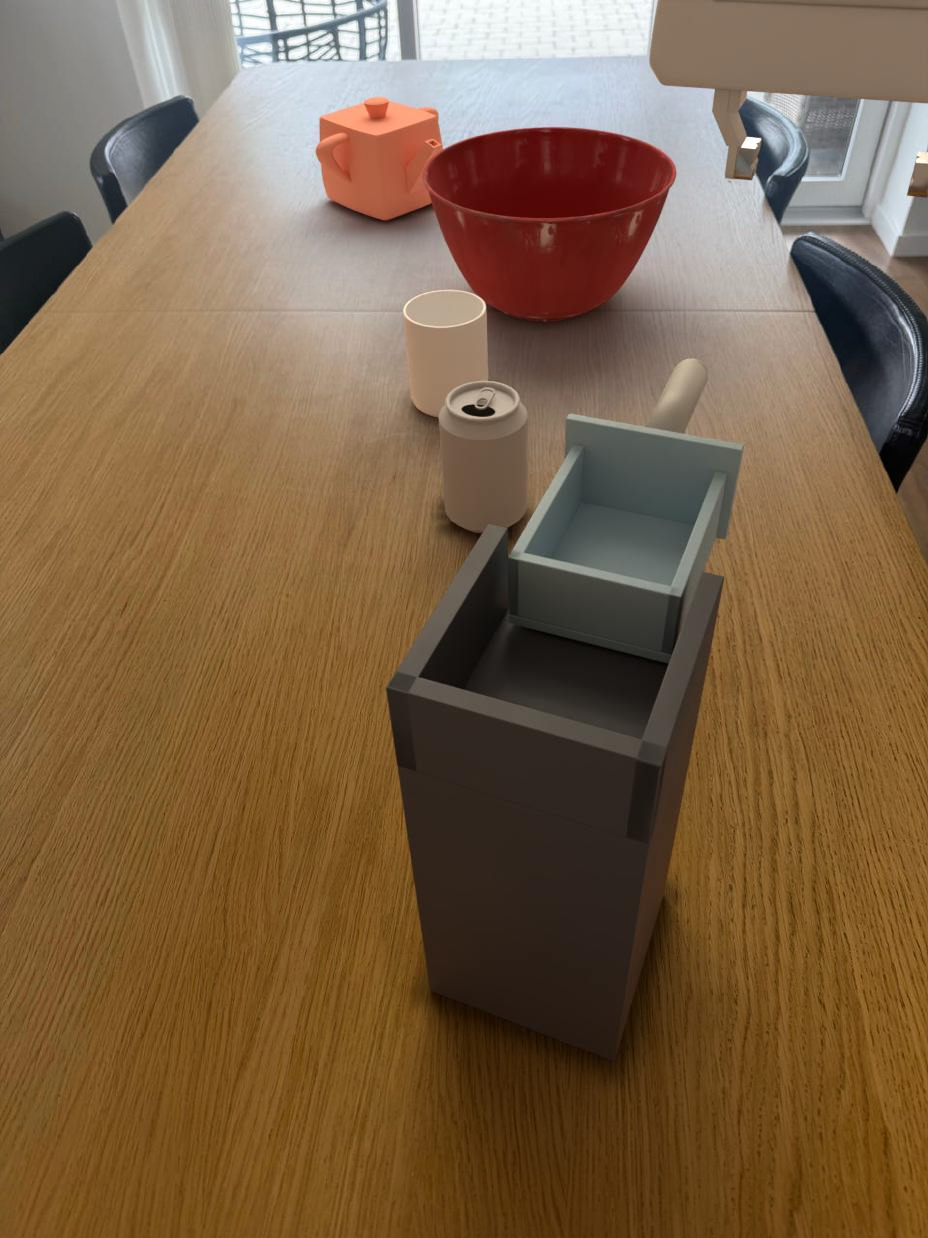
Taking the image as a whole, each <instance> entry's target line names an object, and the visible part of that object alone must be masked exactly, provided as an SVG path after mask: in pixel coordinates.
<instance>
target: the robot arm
mask: <svg viewBox="0 0 928 1238" xmlns="http://www.w3.org/2000/svg"><path fill="white" fill-rule="evenodd" d="M654 14H655V15H654V18H653V19H654V20H653V26H652V32H651V38H650V47H649V55H648V63H649V67H650V68H651V70H652V72H653V74H654V76H655V77H656V79H657V81H658V82H659V84H661V85H662V86H666V87H679V88H680V87H681V88H695V89H709V90H714V93H713V99H712V100H713V102H712V109H711V113H712V115H713V117H714V120H715V122H716V124H717V127H718V129H719V131H720V134H721V136H722V139H723V141H724V144H725V146H726V147H728V149H727V157H726V162H725V170H724V179H728V180H742V181H753V179H754V177H755V175H756V173H757V169H758V164H759V158H758V156H759V153H760V151H761V145H762V141H763V139H762V138H761V137H753V136H748V134H747V131H746V129H745V126H744V123H743V120H742V118H741V114H740V112H739V111H740V109H741V108H742V106H743V105H744V103H745V101H747V96H748V92H753V93H754V92H755V93H767V94H768V93H769V94H783V95H795V96H796V95H797V96H811V97H827V98H839V99H853V100H854V99H856V100H869V101H870V100H871V101H886V102H898V103H899V102H901V103H913V104H915V103H916V104H928V0H657V4H656V8H655V13H654ZM906 196H907V197H916V198H926V199H928V151H919V150H918V151H917V155H916V158H915V161H914V165H913V170H912V173H911V177H910V181H909V185H908V189H907V193H906Z"/></svg>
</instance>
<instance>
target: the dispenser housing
mask: <svg viewBox="0 0 928 1238" xmlns="http://www.w3.org/2000/svg"><path fill="white" fill-rule="evenodd" d="M508 528H509V527H508ZM508 528H504V527H500V526H495V525H491V524H488V525H487V527H486V528H485V530H484V532H483V533H481V535H480V537H479V538H478V540H477V541H476V543H475V544H474V546H473V547H472V549H471V551H470V552H469V554H468V555H467V557H466V558H465V560H464V561H463V563H462V564H461V567H460V568H459V570H458V571H457V573H456V574H455V576H454V578H453V579H452V581H451V582H450V584H449V586H448V587H447V589H446V591H445V592H444V593H443V596H442V597H441V599H440V600H439V601H438V603H437V605H436V606H435V608H434V610H433V611H432V613H431V614H430V616H429V618H428V619H427V621H426V622H425V624H424V625H423V627H422V628H421V630H420V632H419V634H418V635H417V637H416V638H415V640H414V642H413V643H412V645H411V647H410V648H409V650H408V651H407V653H406V654H405V656H404V657H403V659H402V660H401V662H400V664H399V665H398V667H397V669H396V670H395V672H394V673H393V675H392V677H391V678H390V680H389V681H388V683H387V685H386V686H385V692H386V699H387V707H388V713H389V720H390V726H391V734H392V740H393V746H394V751H395V752H394V753H395V761H396V766H397V774H398V778H399V779H398V780H399V787H400V794H401V800H402V808H403V814H404V821H405V828H406V835H407V842H408V849H409V856H410V863H411V868H412V876H413V883H414V889H415V896H416V902H417V911H418V917H419V924H420V931H421V937H422V944H423V951H424V959H425V965H426V966H425V967H426V972H427V973H426V974H427V980H428V985H429V991H431V992H433V993H436V994H438V995H440V996H443V997H446V998H448V999H451V1000H453V1001H456V1002H459V1003H461V1004H464V1005H467V1006H469V1007H471V1008H474V1009H476V1010H480V1011H481V1012H485V1013H487V1014H490V1015H492V1016H495V1017H498V1018H499V1019H503V1020H505V1021H508V1022H511V1023H512V1024H516V1025H518V1026H521V1027H522V1028H526V1029H528V1030H531V1031H534V1032H537V1033H539V1034H541V1035H544V1036H546V1037H549V1038H551V1039H554V1040H557V1041H559V1042H562V1043H564V1044H567V1045H570V1046H573V1047H575V1048H577V1049H580V1050H582V1051H585V1052H588V1053H591V1054H594V1055H595V1056H598V1057H601V1058H603V1059H606V1060H608V1061H611V1062H615V1061H616V1058H617V1054H618V1051H619V1048H620V1045H621V1041H622V1038H623V1034H624V1030H625V1027H626V1024H627V1021H628V1017H629V1014H630V1010H631V1006H632V1004H633V1000H634V997H635V994H636V990H637V987H638V983H639V980H640V977H641V974H642V971H643V967H644V962H645V959H646V957H647V953H648V949H649V946H650V944H651V940H652V936H653V934H654V933H653V932H654V929H655V925H656V923H657V919H658V916H659V912H660V909H661V906H662V903H663V899H664V896H665V890H666V887H667V886H666V885H667V881H668V875H669V870H670V865H671V860H672V855H673V850H674V846H675V845H674V844H675V838H676V833H677V828H678V822H679V818H680V813H681V808H682V802H683V797H684V791H685V787H686V781H687V776H688V771H689V765H690V760H691V754H692V749H693V744H694V739H695V733H696V729H697V723H698V718H699V713H700V707H701V704H702V703H701V702H702V697H703V692H704V688H705V687H704V686H705V681H706V677H707V671H708V667H709V666H708V665H709V660H710V655H711V650H712V645H713V640H714V635H715V629H716V624H717V618H718V613H719V608H720V604H721V598H722V592H723V587H724V581H725V576H724V575H719V574H716V573H710V572H708V571H707V572H706V571H704V572H702V573H701V575H700V578H699V581H698V583H697V586H696V589H695V592H694V595H693V597H692V600H691V603H690V606H689V608H688V611H687V614H686V617H685V620H684V622H683V625H682V628H681V631H680V634H679V636H678V639H677V642H676V645H675V648H674V650H673V653H672V656H671V659H670V662H669V664H668V663H664V662H660V661H656V660H652V659H648V658H645V657H641V656H637V655H633V654H629V653H625V652H621V651H617V650H613V649H609V648H605V647H601V646H597V645H593V644H589V643H585V642H581V641H577V640H574V639H570V638H566V637H562V636H558V635H554V634H550V633H546V632H542V631H538V630H534V629H530V628H526V627H522V626H518V625H514V624H510V623H509V591H508V557H509V529H508Z"/></svg>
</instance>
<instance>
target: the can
mask: <svg viewBox="0 0 928 1238" xmlns="http://www.w3.org/2000/svg"><path fill="white" fill-rule="evenodd" d="M445 404H446V405H445V406H444V407H443V408H442V409H441V411H440V413H439V417H438V426H439V427H438V430H439V442H440V444H439V445H440V455H441V458H440V459H441V470H442V485H443V486H442V487H443V488H442V489H443V500H444V502H443V503H444V510H445V511H444V512H445V514H446V516H447V518H449V519H450V522H452V523H454V524H456V525H457V526H458V527H461V528H463V529H464V530H466V531H469V532H472V533H476V534H482V533H483V532H484V530H485V528H486V527H487V525H488V524H491V525H495V526H500V527H504V528H509V527H511V526H513V525H515V524H516V523H517V522H520V520H521V519H522V518H523V517H524V515H525V514H526V512H527V509H528V462H529V461H528V460H529V459H528V457H529V456H528V455H529V453H528V452H529V451H528V450H529V449H528V448H529V447H528V446H529V445H528V442H529V441H528V439H529V436H528V435H529V429H528V428H529V427H528V425H529V424H528V423H529V415H528V411H527V408H526V406H525V405H524V404H523V403H522V402H521V398H520V394H519V393H518V391H516V390H515V389H514V388H513V387H511V386H510V385H507V384H506V383H502V382H498V381H493V380H488V381H476V382H470V383H466V384H463V385H461V386H459V387H457V388H455V389H453V390H452V391H451V392H450V393H449V394H448V395H447V397H446V399H445Z"/></svg>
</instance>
